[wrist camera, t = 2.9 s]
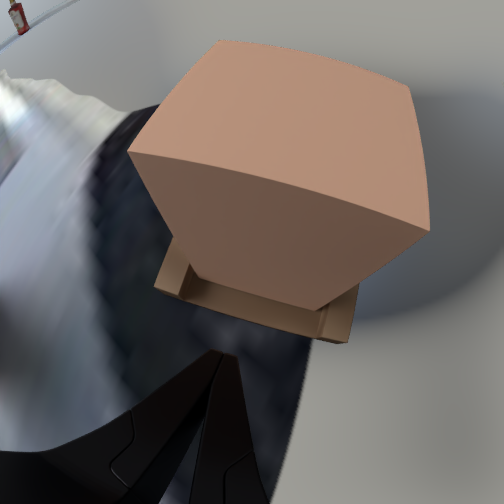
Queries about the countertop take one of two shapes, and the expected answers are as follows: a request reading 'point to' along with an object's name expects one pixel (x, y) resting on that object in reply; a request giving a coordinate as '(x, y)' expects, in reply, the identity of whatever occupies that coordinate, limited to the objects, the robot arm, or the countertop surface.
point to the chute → (256, 302)
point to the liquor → (18, 17)
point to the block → (285, 171)
